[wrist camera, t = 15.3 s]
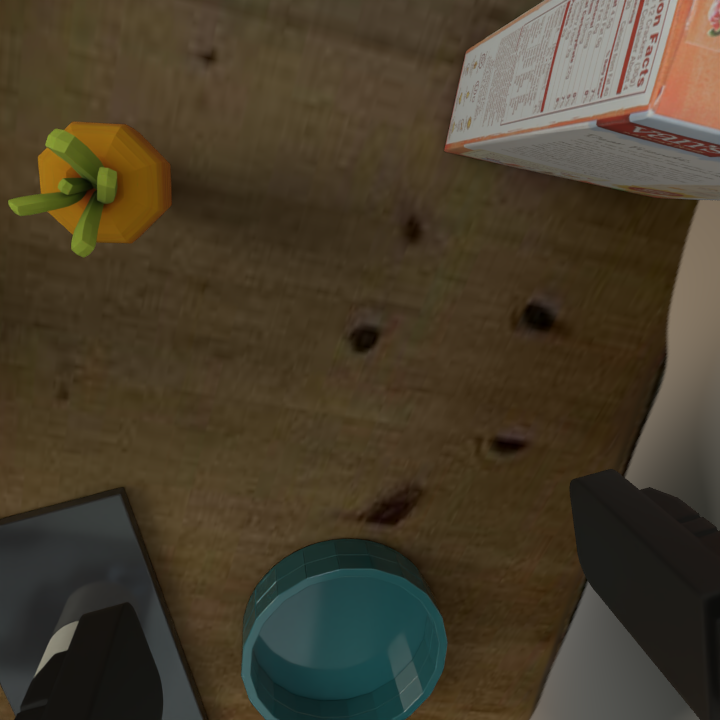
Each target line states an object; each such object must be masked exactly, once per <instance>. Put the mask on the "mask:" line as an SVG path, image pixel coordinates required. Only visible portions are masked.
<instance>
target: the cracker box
mask: <svg viewBox="0 0 720 720" xmlns="http://www.w3.org/2000/svg"><path fill="white" fill-rule="evenodd" d="M444 150H445V152H448V153H453V154H458V155H462V156H466V157H471V158H475V159H480V160H484V161H489V162H493V163H498V164H502V165H507V166H511V167H516V168H521V169H525V170H530V171H534V172H539V173H544V174H548V175H553V176H558V177H562V178H567V179H571V180H576V181H581V182H585V183H590V184H594V185H599V186H603V187H608V188H613V189H617V190H622V191H627V192H631V193H636V194H641V195H645V196H650V197H655V198H669V199H696V200H720V0H544V1H543V2H541V3H540V4H538V5H537V6H535V7H534V8H532V9H530V10H529V11H527V12H526V13H524V14H523V15H521V16H519V17H518V18H516V19H515V20H513V21H512V22H510V23H509V24H507V25H505V26H504V27H502V28H501V29H499V30H498V31H496V32H494V33H493V34H491V35H490V36H488V37H486V38H485V39H484V40H482V41H481V42H479V43H477V44H476V45H475V46H472V47H471V48H470V49H468V50H467V51H466V54H465V58H464V63H463V68H462V72H461V76H460V81H459V85H458V90H457V94H456V99H455V104H454V108H453V113H452V118H451V122H450V127H449V131H448V136H447V140H446V145H445V149H444Z"/></svg>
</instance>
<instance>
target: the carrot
mask: <svg viewBox="0 0 720 720" xmlns="http://www.w3.org/2000/svg"><path fill="white" fill-rule="evenodd" d="M45 146H47V148H46V149H45V150H44V151H43V152H42V153H41V154H40V155H39V156H38V164H39V176H40V187H41V194H37V195H30V196H24V197H19V198H15V199H11V200H8V204H9V206H10V208H11V209H12V210H13V211H14V213H15V214H17V215H19V216H26V215H33V214H37V213H42V212H47V211H48V212H49V213H50V214H51V215H52V216H53V217H54V218H55V219H56V220H57V221H58V222H59V223H61V224H62V225H63V226H64V227H65V228H66V229H67V230H68V231H69V232H70V233H71V234H73V237H72V241H71V250H73V251H74V252H75V253H76V254H77V255H79V256H82V257H86V256H87V255H89V254H90V253H91V252H92V251H93V250H94V249H95V245H96V242H100V243H133V242H134V241H135V240H137V239H138V238H139V237H140V236H141V235H142V234H143V233H144V232H145V231H146V230H147V229H148V228H149V227H150V226H151V225H152V224H153V223H154V222H155V221H156V220H157V219H158V218H159V217H160V216H161V215H162V214H163V213H164V212H165V211H166V210H167V209H168V208H169V207H170V206H171V205H172V197H171V168H170V164H169V163H168V162H167V160H166V159H165V158H164V157H163V156H162V155H161V154H160V153H159V152H158V151H157V150H156V149H155V148H154V147H153V146H152V145H151V144H150V143H149V142H148V141H147V140H146V139H145V138H144V137H143V136H142V135H141V134H140V133H139V132H137V131H136V130H135V129H133V128H131V127H129V126H128V125H126V124H108V123H89V122H71V124H70V125H69V126H68V127H67V128H66V129H65V130H60V129H55V130H54V131H52V132H51V133H50V134H49V135H48V138H47V141H46V145H45Z"/></svg>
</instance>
